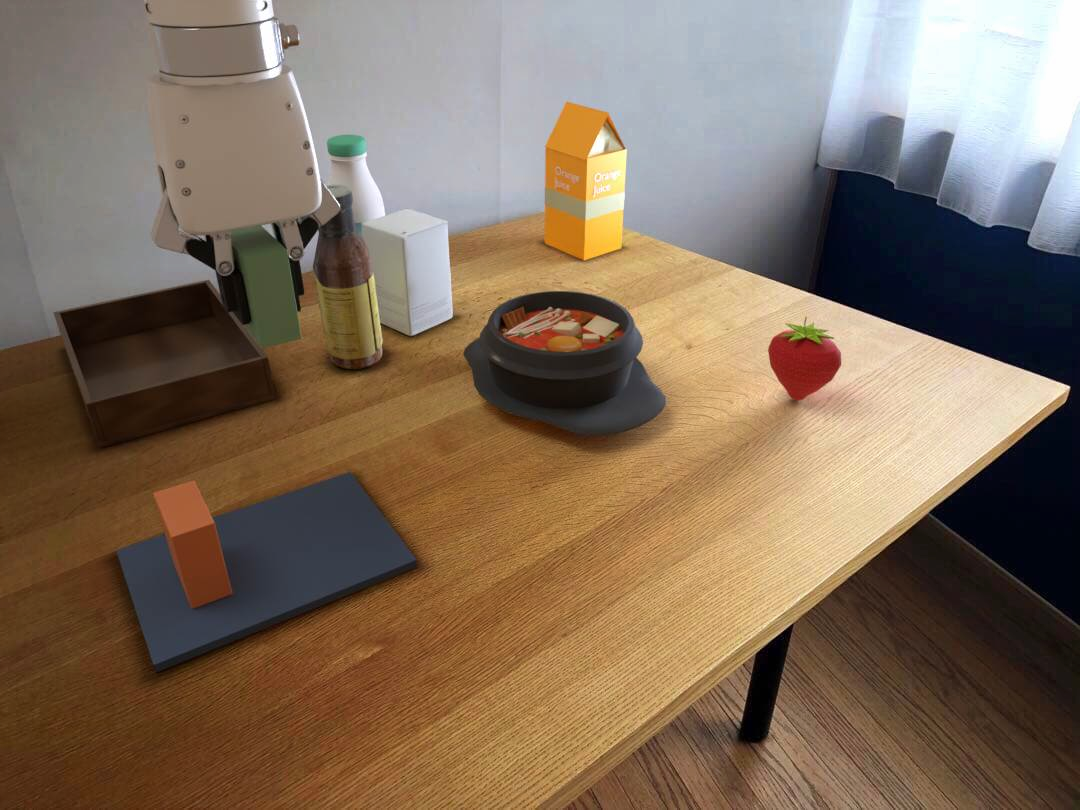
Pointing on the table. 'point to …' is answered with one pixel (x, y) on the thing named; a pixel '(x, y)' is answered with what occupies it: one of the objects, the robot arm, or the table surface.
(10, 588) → the table surface
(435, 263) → the white packaging box
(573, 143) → the orange juice
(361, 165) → the milk bottle
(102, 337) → the tray
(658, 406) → the casserole
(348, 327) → the sauce bottle
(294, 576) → the mat
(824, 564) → the table surface
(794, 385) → the strawberry
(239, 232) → the block
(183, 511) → the block
